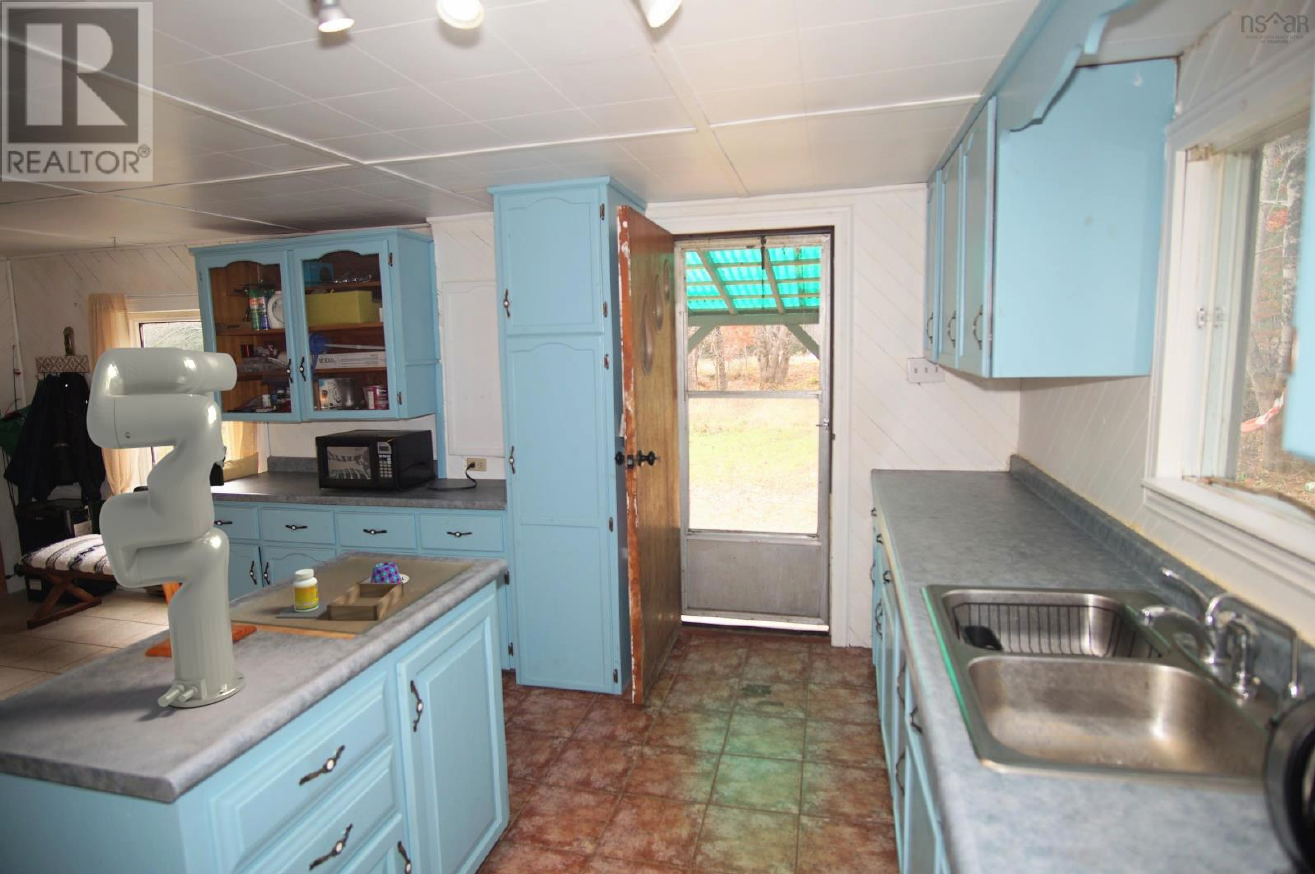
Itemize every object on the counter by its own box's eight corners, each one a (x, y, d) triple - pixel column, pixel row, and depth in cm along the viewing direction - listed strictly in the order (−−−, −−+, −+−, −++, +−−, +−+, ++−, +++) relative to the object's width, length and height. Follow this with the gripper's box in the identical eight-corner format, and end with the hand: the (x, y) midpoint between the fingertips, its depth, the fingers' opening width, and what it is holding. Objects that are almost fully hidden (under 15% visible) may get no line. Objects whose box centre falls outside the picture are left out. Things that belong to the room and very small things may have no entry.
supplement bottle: (292, 608, 170) (289, 570, 169) (316, 603, 174) (313, 566, 172) (297, 614, 166) (294, 576, 165) (321, 609, 169) (318, 571, 168)
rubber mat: (317, 618, 165) (317, 616, 165) (276, 617, 165) (276, 616, 165) (337, 602, 175) (337, 601, 175) (298, 602, 175) (298, 600, 175)
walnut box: (377, 620, 164) (376, 606, 163) (327, 619, 164) (326, 605, 164) (403, 595, 180) (403, 582, 179) (358, 595, 180) (357, 582, 179)
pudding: (379, 574, 197) (378, 557, 196) (417, 577, 194) (416, 559, 194) (352, 589, 185) (351, 570, 185) (393, 592, 183) (392, 573, 182)
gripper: (183, 416, 140) (191, 499, 142) (237, 408, 157) (243, 482, 160) (147, 416, 140) (155, 499, 143) (204, 408, 157) (211, 482, 160)
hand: (202, 490), depth 151 cm, fingers open, 9 cm apart
